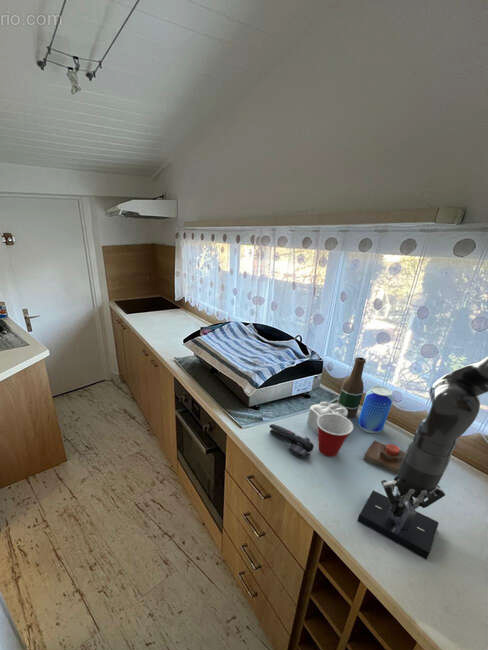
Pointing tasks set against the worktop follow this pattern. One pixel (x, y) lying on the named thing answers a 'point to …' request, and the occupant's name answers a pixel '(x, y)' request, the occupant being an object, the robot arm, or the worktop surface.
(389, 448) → the button
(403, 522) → the tap handle
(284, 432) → the can opener
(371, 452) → the button block
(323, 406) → the white bumpy block
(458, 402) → the robot arm
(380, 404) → the beer can
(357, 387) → the beer bottle
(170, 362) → the worktop surface
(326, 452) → the plastic cup
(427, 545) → the lever switch
